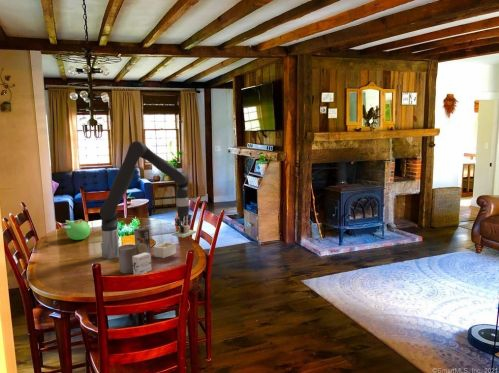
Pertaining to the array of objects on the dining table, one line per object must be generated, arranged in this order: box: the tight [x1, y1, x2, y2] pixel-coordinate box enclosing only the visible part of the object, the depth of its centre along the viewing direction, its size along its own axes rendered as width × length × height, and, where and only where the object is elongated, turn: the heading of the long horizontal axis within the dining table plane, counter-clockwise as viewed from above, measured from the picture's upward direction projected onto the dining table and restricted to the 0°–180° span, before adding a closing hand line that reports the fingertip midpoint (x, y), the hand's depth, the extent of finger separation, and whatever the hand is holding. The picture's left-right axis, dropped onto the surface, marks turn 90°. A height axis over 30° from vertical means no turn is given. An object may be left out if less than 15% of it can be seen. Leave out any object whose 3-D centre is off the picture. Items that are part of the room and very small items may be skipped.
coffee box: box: [133, 227, 152, 255], centre depth 247 cm, size 9×6×16 cm
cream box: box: [153, 241, 177, 259], centre depth 246 cm, size 11×8×6 cm
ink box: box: [132, 253, 153, 276], centre depth 210 cm, size 9×5×12 cm, turn 141°
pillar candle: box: [118, 244, 137, 275], centre depth 219 cm, size 10×10×15 cm
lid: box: [171, 225, 197, 238], centre depth 245 cm, size 12×9×6 cm
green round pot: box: [63, 218, 91, 241], centre depth 285 cm, size 18×17×15 cm
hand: (184, 232), depth 246 cm, fingers closed on lid, 2 cm apart
